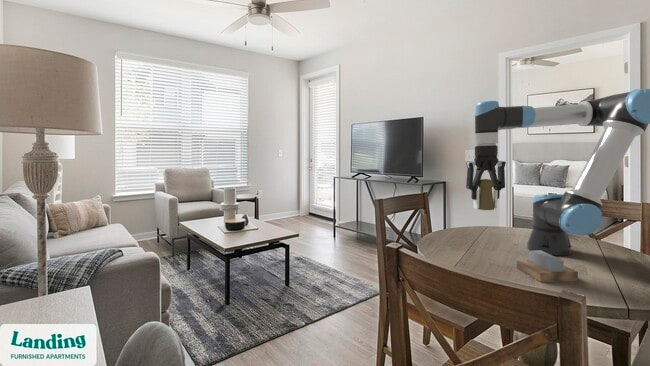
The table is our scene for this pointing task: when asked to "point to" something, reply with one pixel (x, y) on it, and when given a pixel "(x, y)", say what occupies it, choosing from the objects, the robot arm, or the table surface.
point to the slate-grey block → (546, 261)
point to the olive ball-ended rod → (486, 195)
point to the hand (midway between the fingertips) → (485, 207)
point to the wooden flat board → (546, 272)
